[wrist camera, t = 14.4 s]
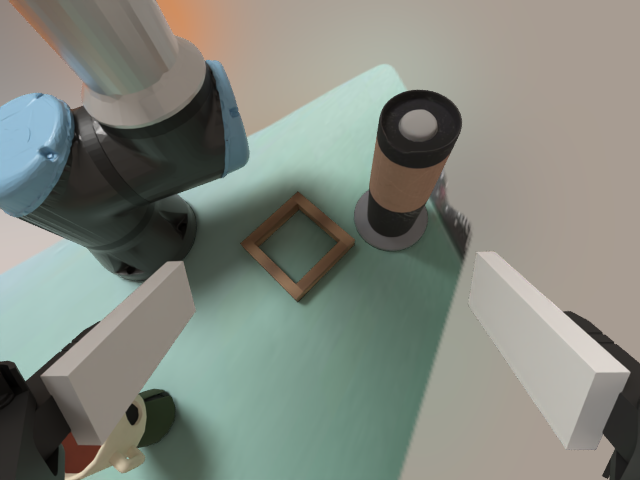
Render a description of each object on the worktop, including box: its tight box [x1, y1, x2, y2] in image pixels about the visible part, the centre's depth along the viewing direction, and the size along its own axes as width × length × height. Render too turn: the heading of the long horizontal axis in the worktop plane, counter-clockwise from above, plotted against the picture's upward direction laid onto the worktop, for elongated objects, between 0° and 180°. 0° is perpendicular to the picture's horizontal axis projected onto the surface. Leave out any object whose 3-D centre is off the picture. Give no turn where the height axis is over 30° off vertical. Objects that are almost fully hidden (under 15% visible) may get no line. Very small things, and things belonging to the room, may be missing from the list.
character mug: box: [61, 389, 175, 480], centre depth 33 cm, size 11×7×13 cm, turn 58°
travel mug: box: [367, 90, 462, 237], centre depth 37 cm, size 8×8×20 cm
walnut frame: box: [240, 192, 355, 302], centre depth 46 cm, size 12×12×2 cm
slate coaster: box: [354, 190, 428, 251], centre depth 47 cm, size 11×11×1 cm
